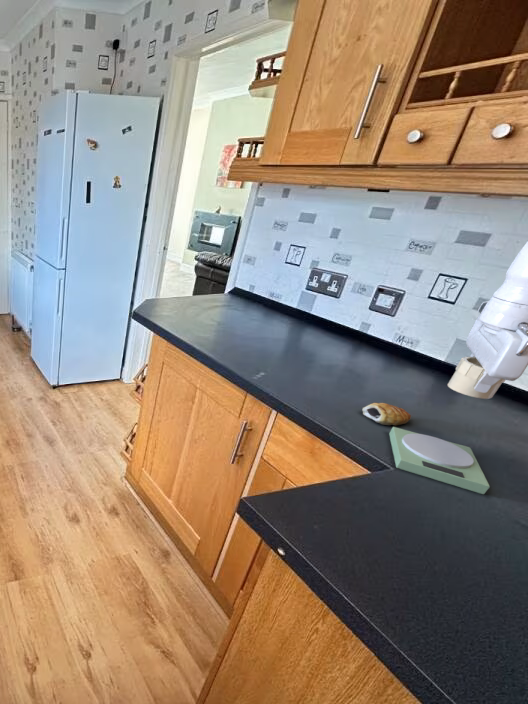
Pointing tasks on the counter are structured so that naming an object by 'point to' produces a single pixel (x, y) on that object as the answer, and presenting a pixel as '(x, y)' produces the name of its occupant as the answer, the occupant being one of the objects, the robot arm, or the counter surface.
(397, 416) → the pastry
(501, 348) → the robot arm
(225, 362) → the counter surface
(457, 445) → the scale
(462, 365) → the cream hollow cylinder
